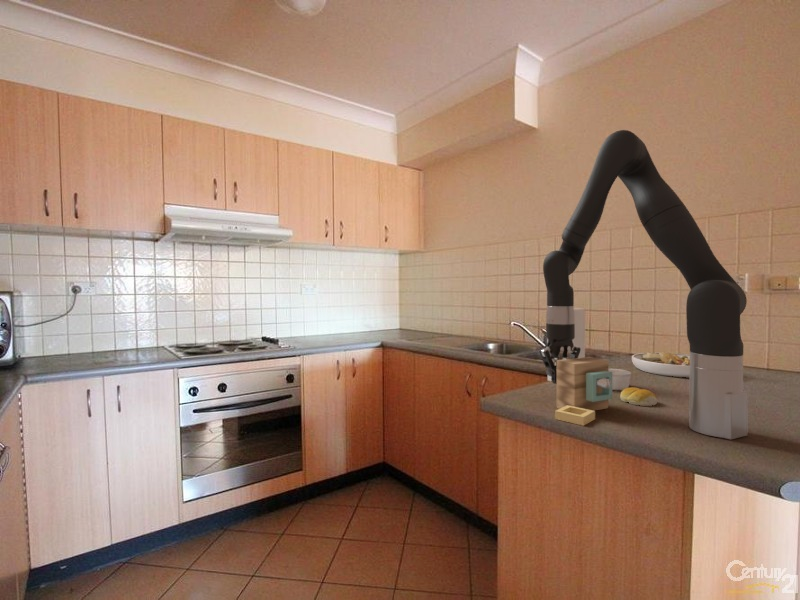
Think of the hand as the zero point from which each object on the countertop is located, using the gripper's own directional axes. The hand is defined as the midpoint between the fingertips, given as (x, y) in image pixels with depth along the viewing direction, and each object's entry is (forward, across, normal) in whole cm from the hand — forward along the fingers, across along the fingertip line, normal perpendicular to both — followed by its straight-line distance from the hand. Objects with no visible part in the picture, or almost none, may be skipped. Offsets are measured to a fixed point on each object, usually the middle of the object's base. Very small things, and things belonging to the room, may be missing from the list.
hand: (560, 382), depth 113 cm
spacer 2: (+1, 0, -13) cm, 13 cm away
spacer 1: (+5, -9, -14) cm, 17 cm away
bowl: (+6, +71, +12) cm, 72 cm away
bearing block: (+5, 0, -8) cm, 9 cm away
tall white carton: (+5, +20, +17) cm, 27 cm away
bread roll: (+6, +19, -10) cm, 22 cm away
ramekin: (+5, +27, +5) cm, 28 cm away
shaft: (-1, 0, -6) cm, 6 cm away
